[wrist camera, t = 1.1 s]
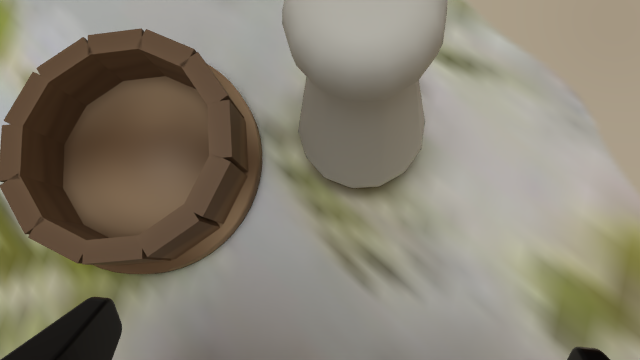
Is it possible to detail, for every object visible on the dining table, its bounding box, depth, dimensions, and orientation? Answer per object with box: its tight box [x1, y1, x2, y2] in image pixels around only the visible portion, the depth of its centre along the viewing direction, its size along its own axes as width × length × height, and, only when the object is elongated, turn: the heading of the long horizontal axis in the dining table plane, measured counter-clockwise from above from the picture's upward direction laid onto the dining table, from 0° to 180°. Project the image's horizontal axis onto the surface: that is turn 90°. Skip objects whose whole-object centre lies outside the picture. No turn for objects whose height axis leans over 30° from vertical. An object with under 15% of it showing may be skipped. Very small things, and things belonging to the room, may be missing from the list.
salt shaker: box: [282, 0, 447, 188], centre depth 17 cm, size 6×6×13 cm
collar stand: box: [0, 29, 262, 274], centre depth 22 cm, size 12×12×4 cm
